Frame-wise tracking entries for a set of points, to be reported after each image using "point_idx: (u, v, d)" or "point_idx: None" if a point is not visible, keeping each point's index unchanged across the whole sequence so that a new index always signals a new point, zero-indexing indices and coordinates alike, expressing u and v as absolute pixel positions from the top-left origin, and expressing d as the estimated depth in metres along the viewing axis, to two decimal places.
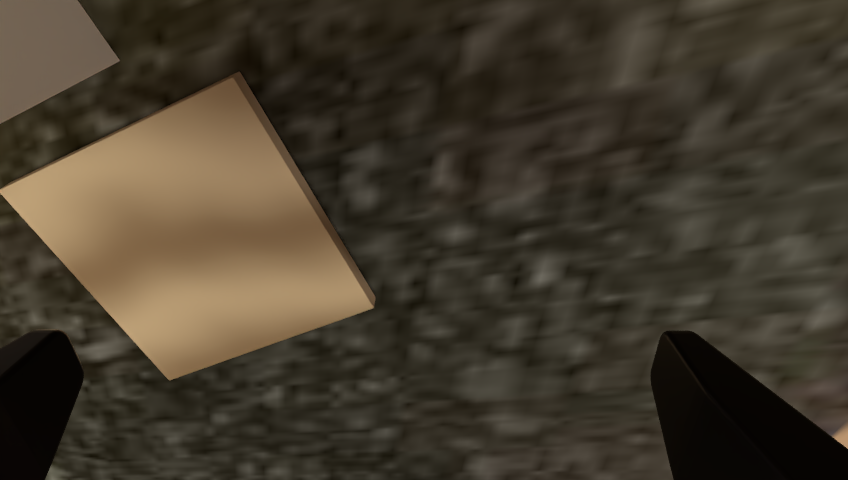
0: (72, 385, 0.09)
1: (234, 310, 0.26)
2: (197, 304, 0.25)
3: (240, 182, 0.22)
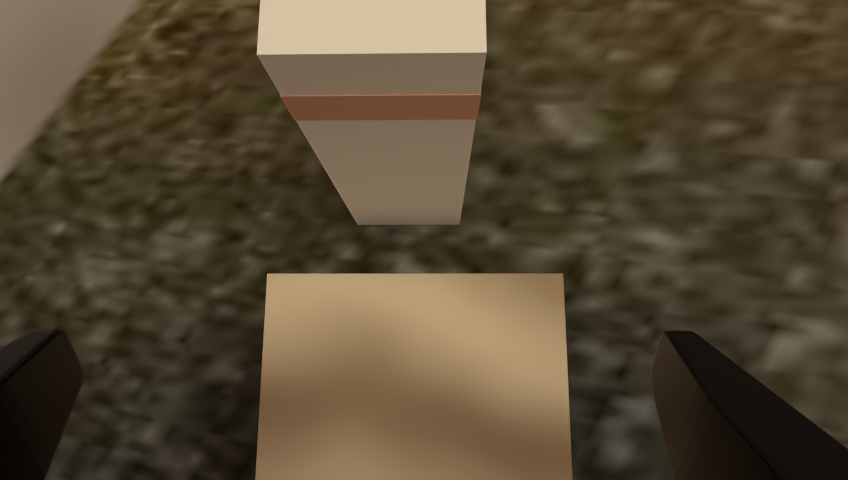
0: (72, 385, 0.09)
1: None
2: None
3: (511, 371, 0.21)
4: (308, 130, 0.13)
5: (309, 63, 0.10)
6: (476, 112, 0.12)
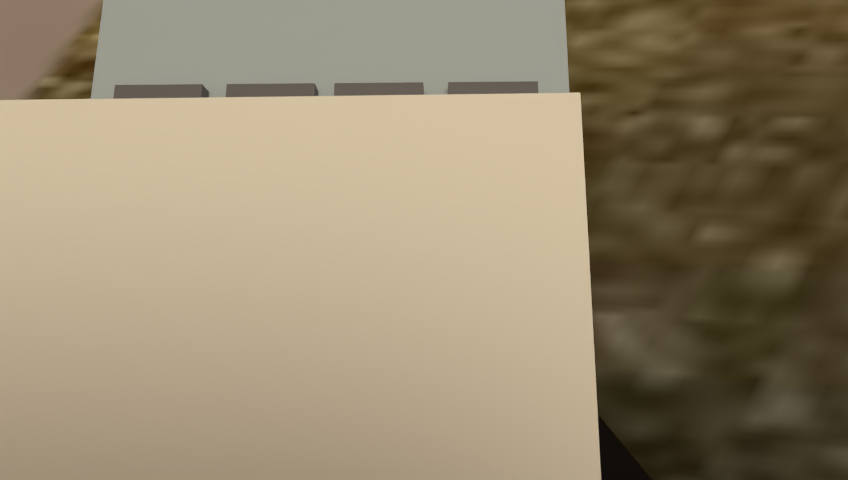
0: None
1: None
2: None
3: None
4: None
5: None
6: None
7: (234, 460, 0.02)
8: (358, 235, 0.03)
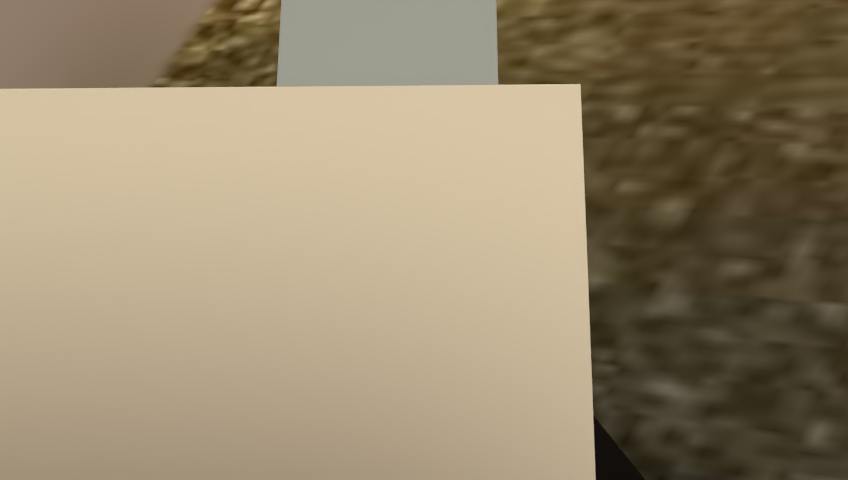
0: None
1: None
2: None
3: None
4: None
5: None
6: None
7: (235, 440, 0.03)
8: (359, 223, 0.03)
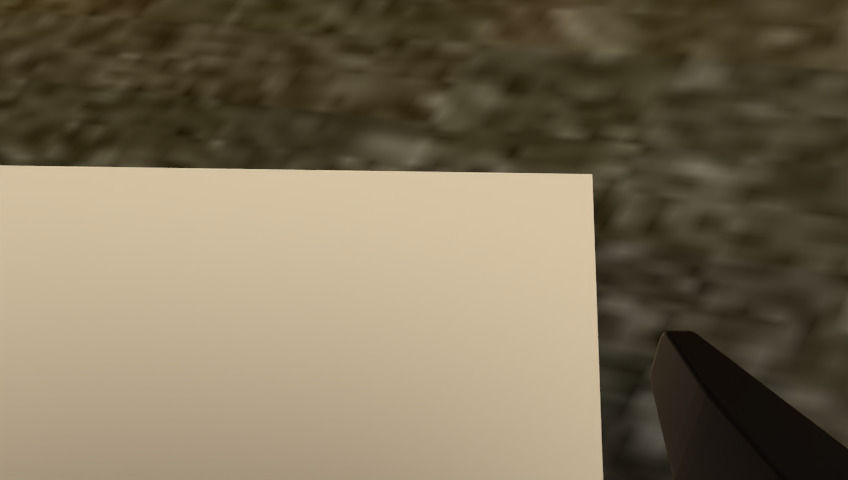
0: None
1: None
2: None
3: None
4: None
5: None
6: None
7: (335, 443, 0.03)
8: (426, 279, 0.04)
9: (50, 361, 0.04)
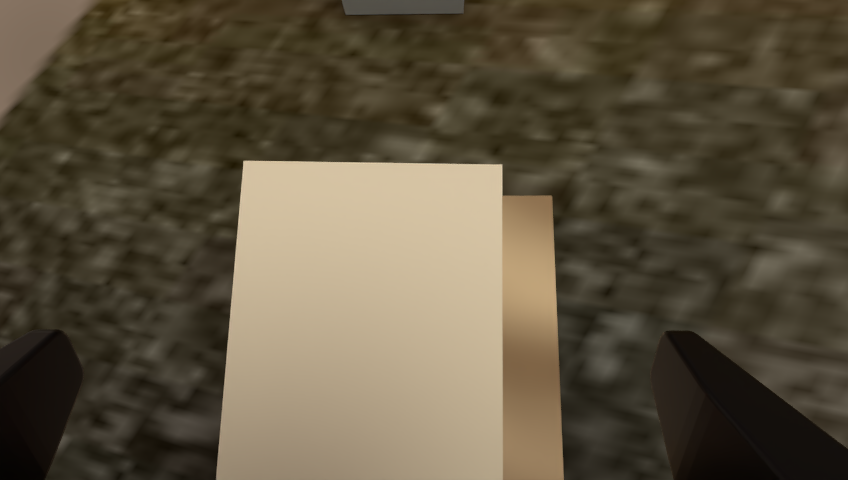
0: (72, 385, 0.09)
1: None
2: None
3: None
4: None
5: None
6: None
7: (399, 269, 0.09)
8: (434, 206, 0.09)
9: (284, 239, 0.09)
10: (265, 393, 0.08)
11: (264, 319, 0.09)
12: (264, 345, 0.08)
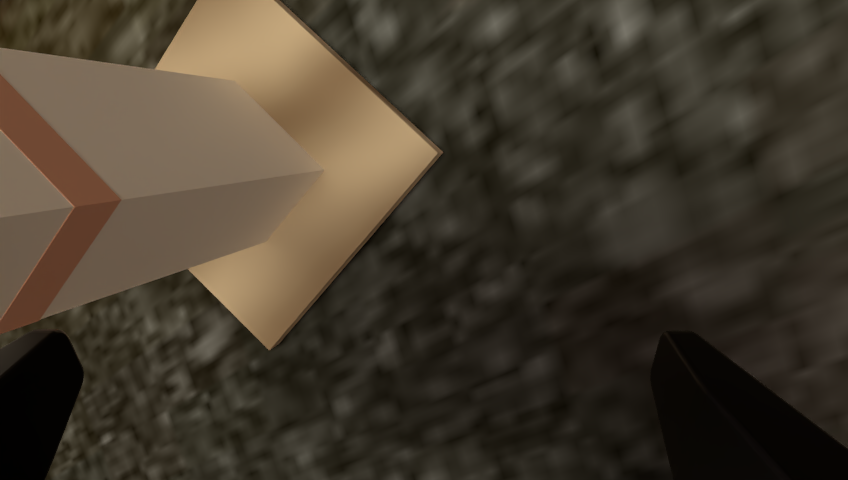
0: (72, 385, 0.09)
1: (302, 222, 0.23)
2: None
3: (261, 60, 0.22)
4: (63, 307, 0.14)
5: None
6: (107, 202, 0.12)
7: None
8: None
9: None
10: None
11: None
12: None
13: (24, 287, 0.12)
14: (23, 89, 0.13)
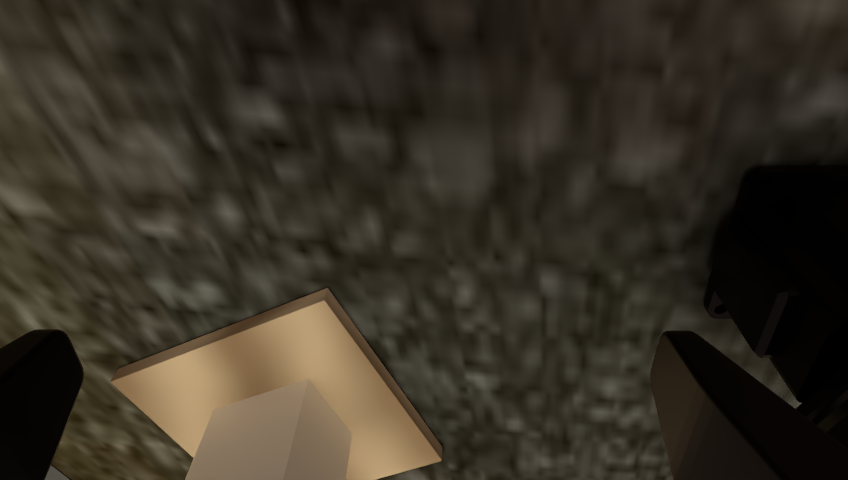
0: (72, 385, 0.09)
1: (346, 406, 0.26)
2: None
3: (203, 387, 0.26)
4: None
5: None
6: None
7: None
8: None
9: None
10: None
11: None
12: None
13: None
14: None
